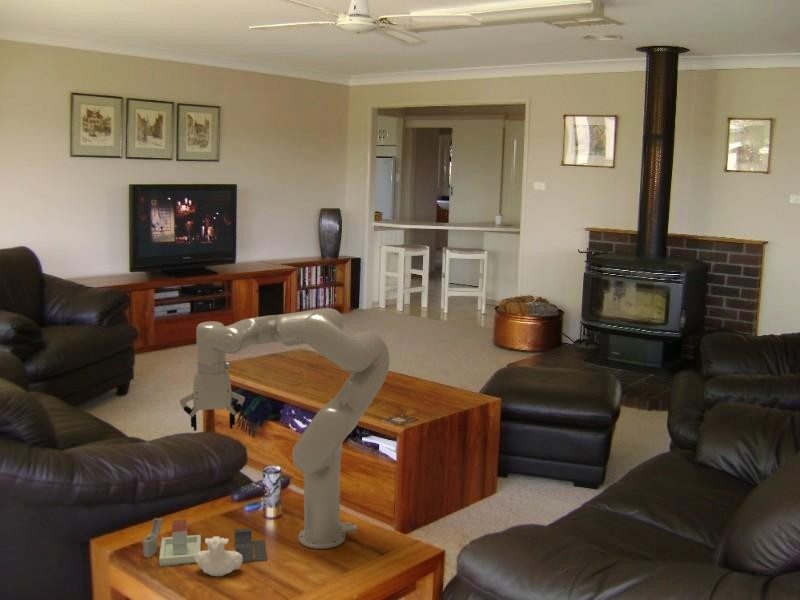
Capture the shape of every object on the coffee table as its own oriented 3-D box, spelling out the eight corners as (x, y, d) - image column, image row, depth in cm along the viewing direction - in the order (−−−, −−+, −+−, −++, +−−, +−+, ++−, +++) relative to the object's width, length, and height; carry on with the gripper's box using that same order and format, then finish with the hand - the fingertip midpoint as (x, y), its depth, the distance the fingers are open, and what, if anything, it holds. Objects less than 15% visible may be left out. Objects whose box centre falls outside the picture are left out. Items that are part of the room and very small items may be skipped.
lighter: (149, 557, 221) (148, 528, 220) (143, 556, 222) (142, 527, 220) (163, 545, 228) (162, 517, 227) (157, 544, 229) (156, 516, 227)
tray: (200, 542, 230) (200, 534, 230) (200, 563, 219) (200, 555, 218) (162, 545, 228) (161, 537, 228) (159, 566, 217) (159, 558, 216)
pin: (187, 548, 225) (186, 519, 224) (187, 554, 222) (186, 525, 221) (173, 549, 225) (172, 520, 223) (173, 555, 221) (172, 526, 220)
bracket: (264, 540, 232) (264, 526, 231) (267, 560, 221) (266, 545, 220) (234, 543, 230) (234, 529, 229) (235, 563, 219) (235, 548, 218)
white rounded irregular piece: (194, 581, 214) (186, 561, 206) (199, 552, 219) (191, 531, 211) (242, 582, 214) (236, 561, 206) (246, 553, 219) (240, 532, 211)
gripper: (243, 362, 238) (244, 422, 241) (179, 365, 234) (181, 425, 237) (244, 369, 231) (245, 430, 234) (178, 372, 227) (180, 434, 230)
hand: (213, 428), depth 236 cm, fingers open, 9 cm apart
